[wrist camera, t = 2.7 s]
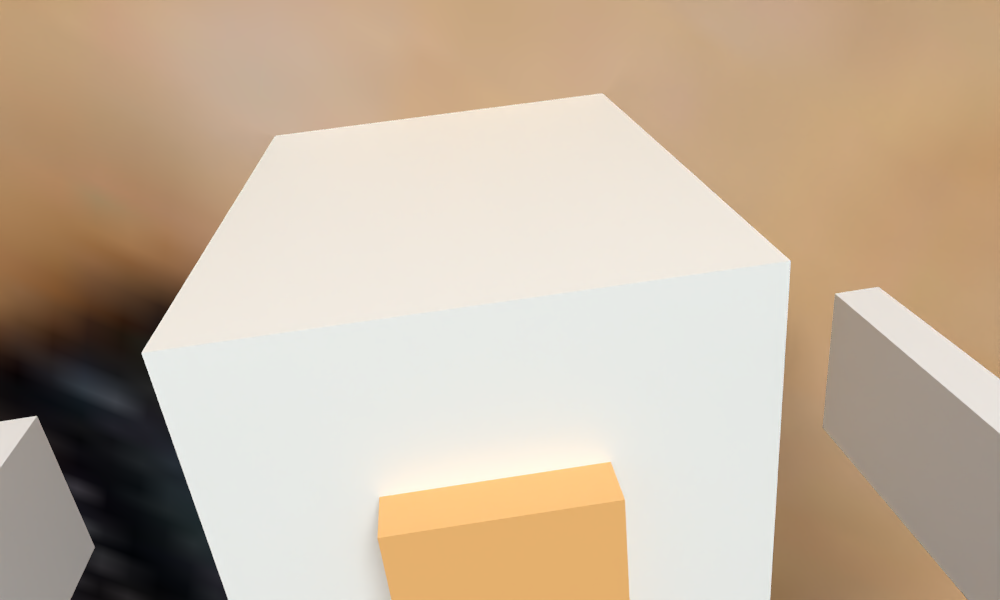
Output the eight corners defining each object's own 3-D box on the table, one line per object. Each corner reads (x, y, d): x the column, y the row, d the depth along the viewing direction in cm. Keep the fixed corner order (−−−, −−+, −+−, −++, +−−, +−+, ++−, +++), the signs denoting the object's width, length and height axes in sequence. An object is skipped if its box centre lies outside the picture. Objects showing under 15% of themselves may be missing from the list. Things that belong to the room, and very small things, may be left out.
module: (602, 93, 15) (820, 287, 7) (621, 481, 19) (773, 881, 11) (275, 136, 14) (120, 387, 7) (364, 520, 18) (333, 960, 11)
